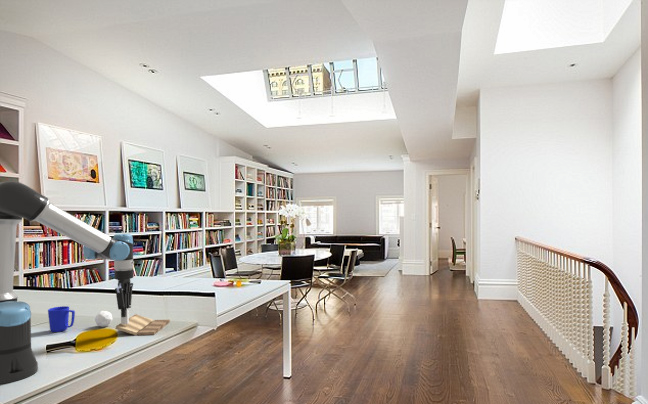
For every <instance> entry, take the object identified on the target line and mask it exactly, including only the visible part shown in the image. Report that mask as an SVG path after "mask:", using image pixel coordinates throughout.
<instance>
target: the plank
mask: <svg viewBox="0 0 648 404" xmlns="http://www.w3.org/2000/svg"><path fill="white" fill-rule="evenodd" d="M153 321H155V319H152V318H149V317H146V316H142V315H139V314H137V313H135V314H133V315H132V316H129V324H121V322H120V323H119V324H117V325H116V326H115V329H116V330H117V331H121V332H125V333H127V334H130V335H133V336H137V334H138V332H140V331H141V330H142V329H144V328H145V327H146V326H148V325H149V324H151V323H152V322H153Z"/></svg>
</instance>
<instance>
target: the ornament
mask: <svg viewBox="0 0 648 404" xmlns="http://www.w3.org/2000/svg"><path fill="white" fill-rule="evenodd" d="M94 320H95V323H96V325H97V326H98V327H101V328H105V327H108V326H109V325H110V324H112V322H113V315H112V313H111V312H109V311H107V310H101V311H100V312H99V313H97V314H96V316H95V318H94Z"/></svg>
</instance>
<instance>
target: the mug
mask: <svg viewBox="0 0 648 404" xmlns="http://www.w3.org/2000/svg"><path fill="white" fill-rule="evenodd" d="M70 313H71V320H70V325H69V319H70ZM75 314H76V311H75V310H74V309H70V306H67V305H66V306H64V305H63V306H56V307H55V306H54V307H51V308H49V309H47V315H48V323H49V330H50V332H53V333H59V332H64V331H66V330H67V329H68V328H71V327H73V326H74V323H75V318H76V317H75V316H76V315H75Z"/></svg>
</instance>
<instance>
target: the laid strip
mask: <svg viewBox="0 0 648 404" xmlns="http://www.w3.org/2000/svg"><path fill="white" fill-rule="evenodd" d="M169 323H171V319H154V321H153V322H152V323H151V324H149V325H148V326H146V327H145V328H144V329H142V330H141V331H140V332H138V334H136V336H150V335H151V336H153V335H157V333H159V331H161V330H162V329H163V328H165V327H166V326H167V325H168V324H169Z"/></svg>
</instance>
